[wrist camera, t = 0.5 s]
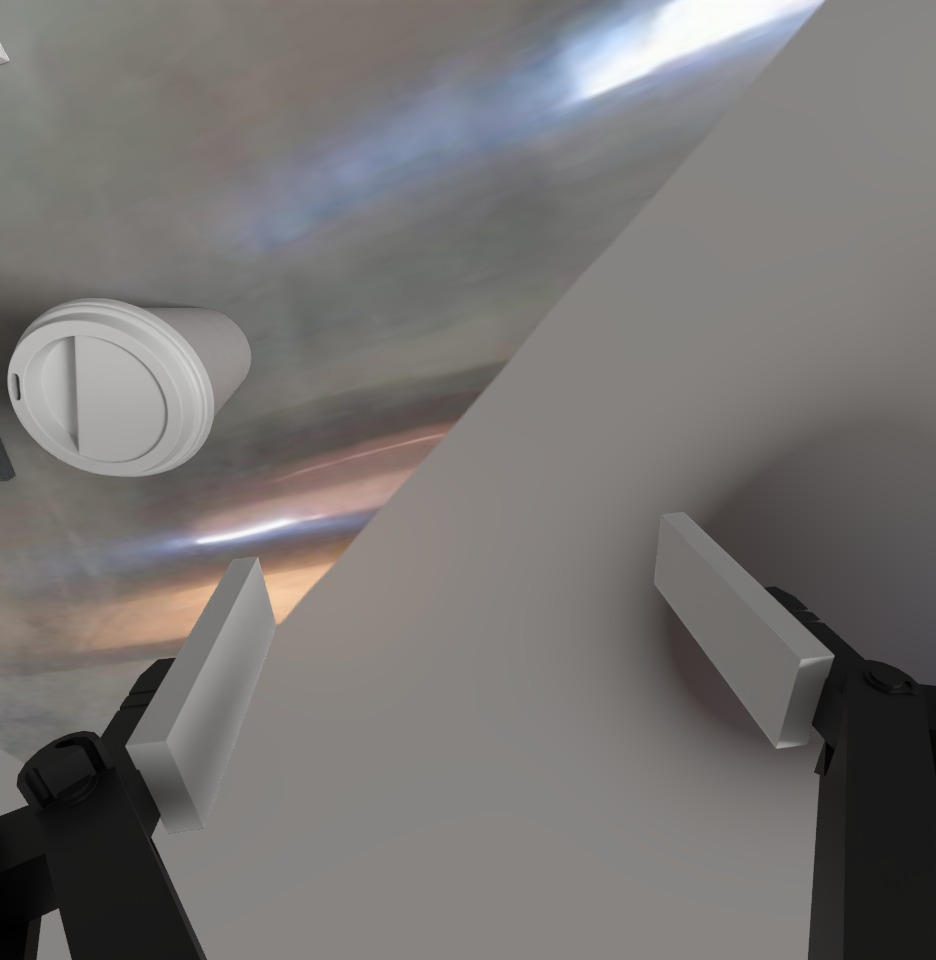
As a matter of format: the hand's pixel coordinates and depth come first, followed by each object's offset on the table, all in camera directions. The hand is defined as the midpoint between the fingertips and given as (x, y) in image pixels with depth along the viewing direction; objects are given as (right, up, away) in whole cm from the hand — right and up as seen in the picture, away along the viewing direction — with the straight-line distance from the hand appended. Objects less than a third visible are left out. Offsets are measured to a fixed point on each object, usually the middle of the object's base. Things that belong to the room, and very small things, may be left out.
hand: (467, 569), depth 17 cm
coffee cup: (-20, +13, +22) cm, 33 cm away
